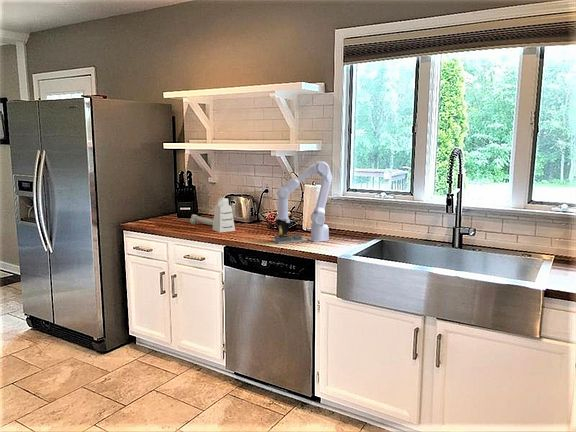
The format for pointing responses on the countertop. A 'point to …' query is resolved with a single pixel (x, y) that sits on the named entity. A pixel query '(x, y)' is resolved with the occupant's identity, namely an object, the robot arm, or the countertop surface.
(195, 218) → the grey flared rod
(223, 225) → the grater
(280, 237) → the cylinder
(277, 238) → the manifold plate
